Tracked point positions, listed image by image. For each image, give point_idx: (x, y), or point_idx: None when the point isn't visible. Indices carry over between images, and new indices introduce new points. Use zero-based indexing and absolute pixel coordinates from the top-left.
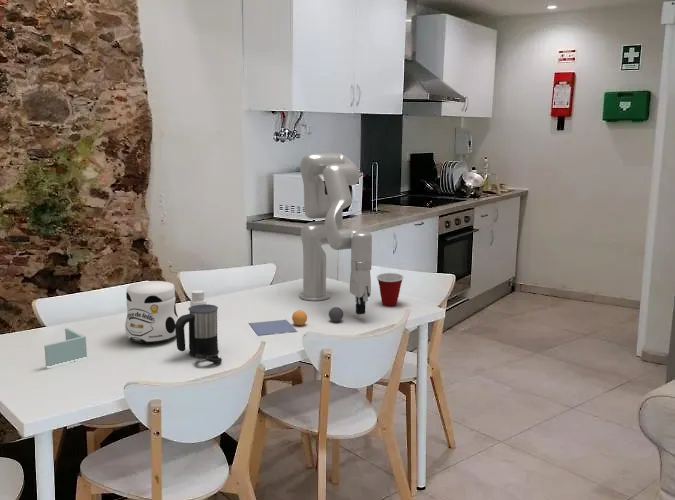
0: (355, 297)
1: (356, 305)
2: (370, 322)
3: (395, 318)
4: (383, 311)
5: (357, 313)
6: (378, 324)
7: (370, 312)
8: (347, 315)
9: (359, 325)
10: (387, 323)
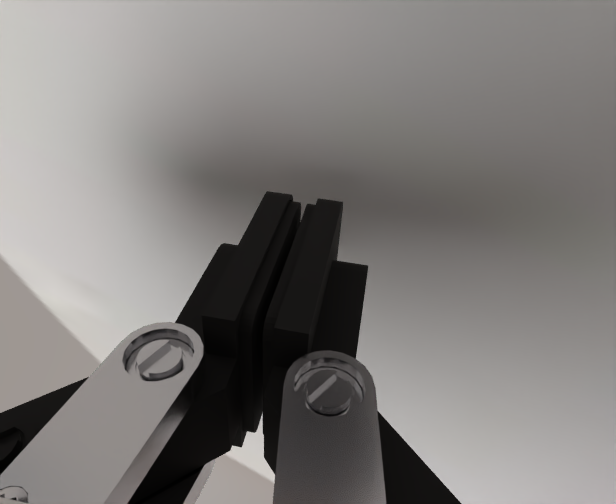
0: (377, 492)
1: (284, 294)
2: (164, 240)
3: (232, 451)
4: (462, 495)
5: (266, 198)
6: (83, 270)
7: (511, 417)
8: (608, 131)
9: (56, 52)
10: (107, 345)
